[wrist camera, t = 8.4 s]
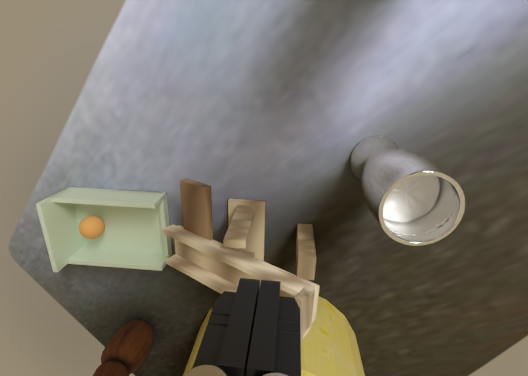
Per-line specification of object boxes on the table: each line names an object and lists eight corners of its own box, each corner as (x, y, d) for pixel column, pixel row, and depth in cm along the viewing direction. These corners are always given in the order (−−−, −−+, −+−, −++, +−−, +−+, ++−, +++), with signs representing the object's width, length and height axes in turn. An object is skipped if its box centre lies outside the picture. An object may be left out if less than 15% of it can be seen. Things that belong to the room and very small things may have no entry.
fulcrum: (314, 203, 41) (319, 241, 32) (308, 262, 45) (312, 311, 35) (228, 198, 42) (211, 234, 33) (229, 256, 45) (214, 303, 36)
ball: (100, 209, 45) (75, 215, 43) (104, 218, 42) (78, 224, 41) (104, 229, 46) (79, 235, 44) (108, 238, 43) (82, 245, 42)
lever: (326, 221, 27) (308, 237, 24) (315, 322, 31) (298, 344, 29) (175, 175, 38) (151, 182, 35) (181, 254, 42) (160, 266, 39)
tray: (68, 186, 44) (35, 203, 38) (166, 192, 43) (147, 210, 37) (81, 248, 47) (53, 271, 42) (172, 254, 46) (155, 279, 41)
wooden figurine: (141, 307, 50) (83, 398, 36) (165, 330, 52) (119, 426, 38) (114, 325, 52) (49, 418, 38) (139, 347, 54) (84, 444, 40)
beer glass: (355, 193, 40) (388, 258, 26) (339, 143, 38) (365, 186, 24) (410, 175, 39) (475, 233, 25) (396, 123, 37) (459, 155, 23)
